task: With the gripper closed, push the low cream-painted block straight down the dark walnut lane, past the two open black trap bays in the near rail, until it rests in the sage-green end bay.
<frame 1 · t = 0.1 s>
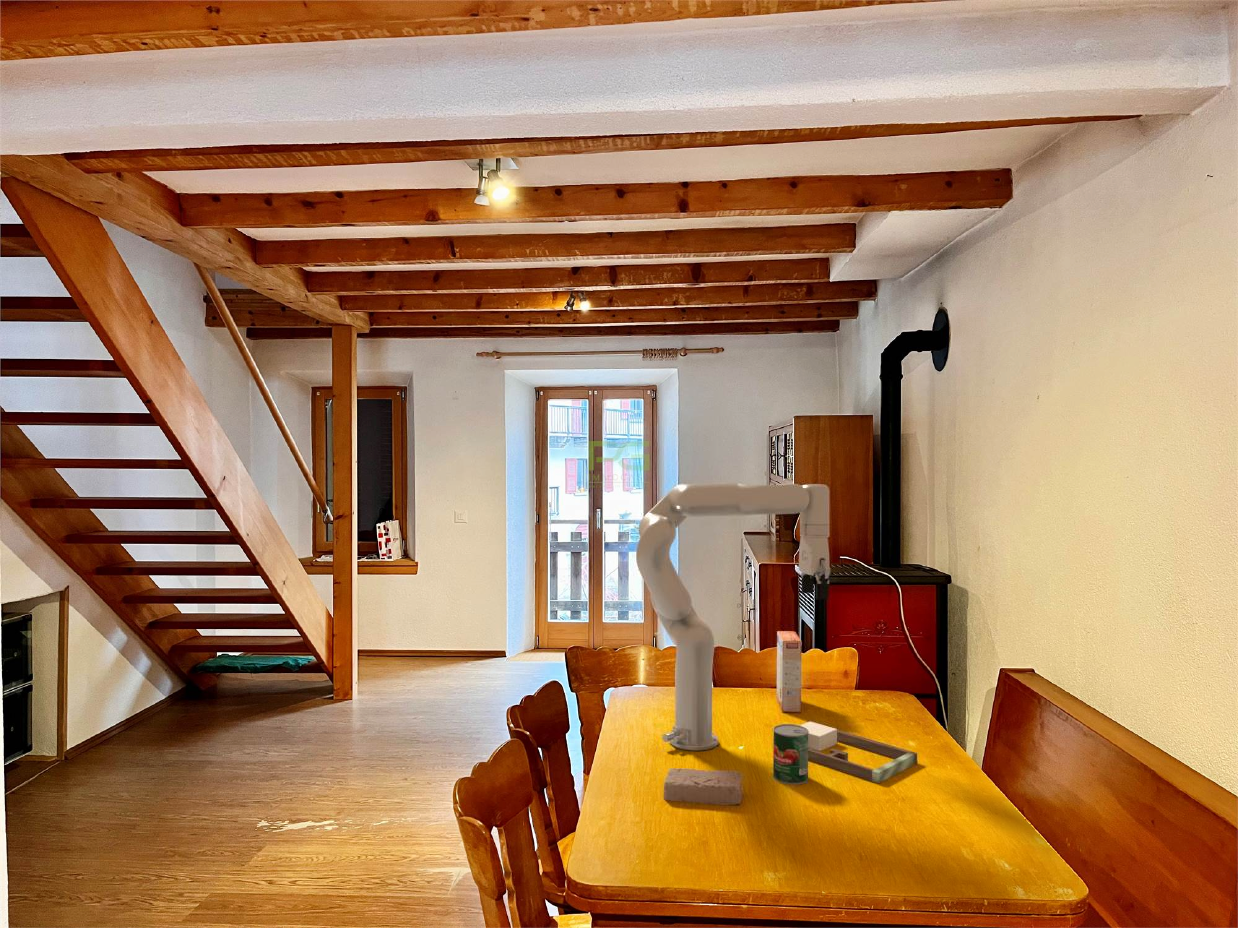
hand: (814, 595, 201), 37 cm above the table, tool pointing down, fingers open, 9 cm apart
cream block: (814, 744, 196), on the table
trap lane: (844, 755, 187), on the table
canned tomato: (790, 778, 174), on the table
brick: (703, 797, 165), on the table
cracker box: (788, 706, 227), on the table
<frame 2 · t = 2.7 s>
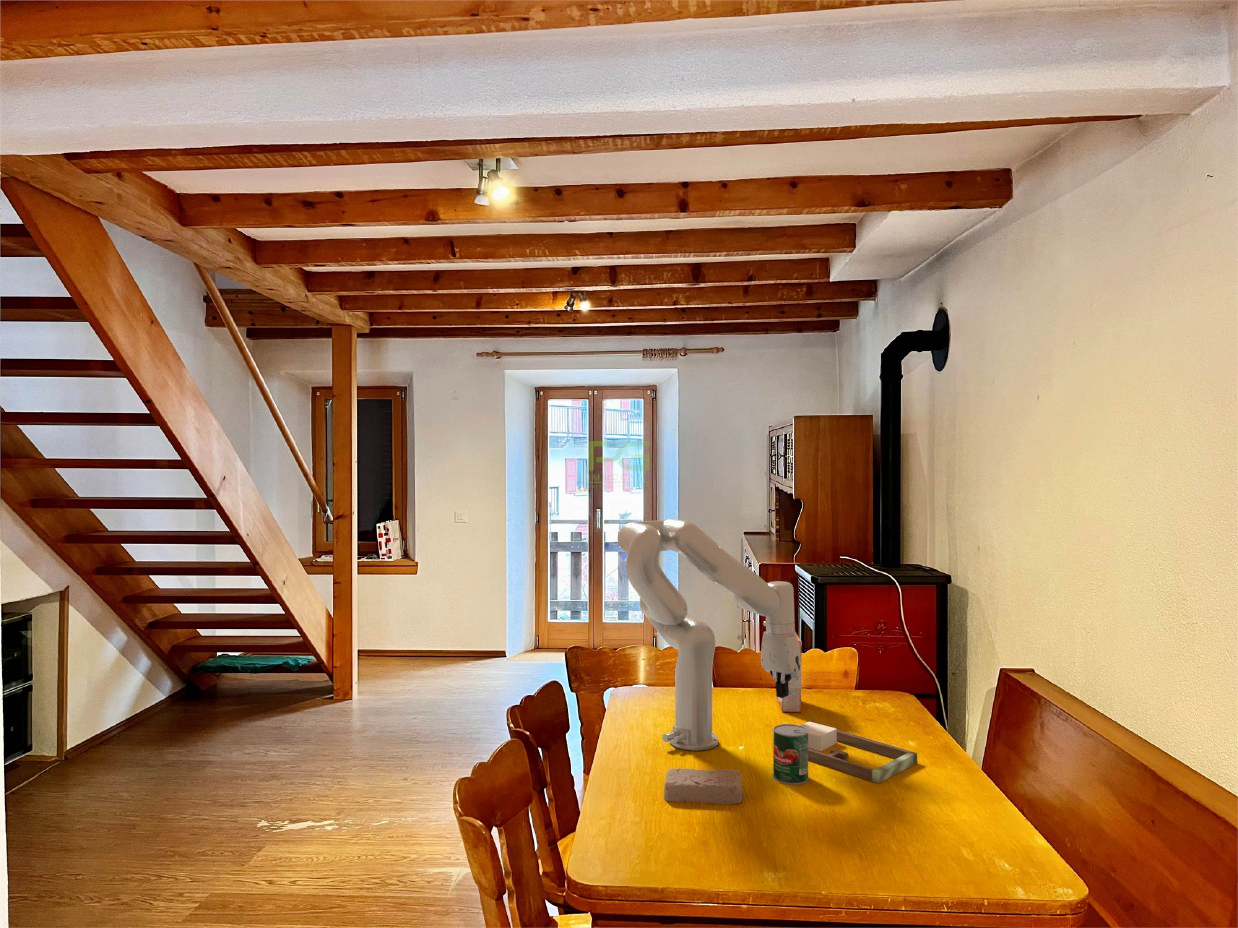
hand: (782, 696, 205), 9 cm above the table, tool pointing down, fingers closed
nothing on the table moved.
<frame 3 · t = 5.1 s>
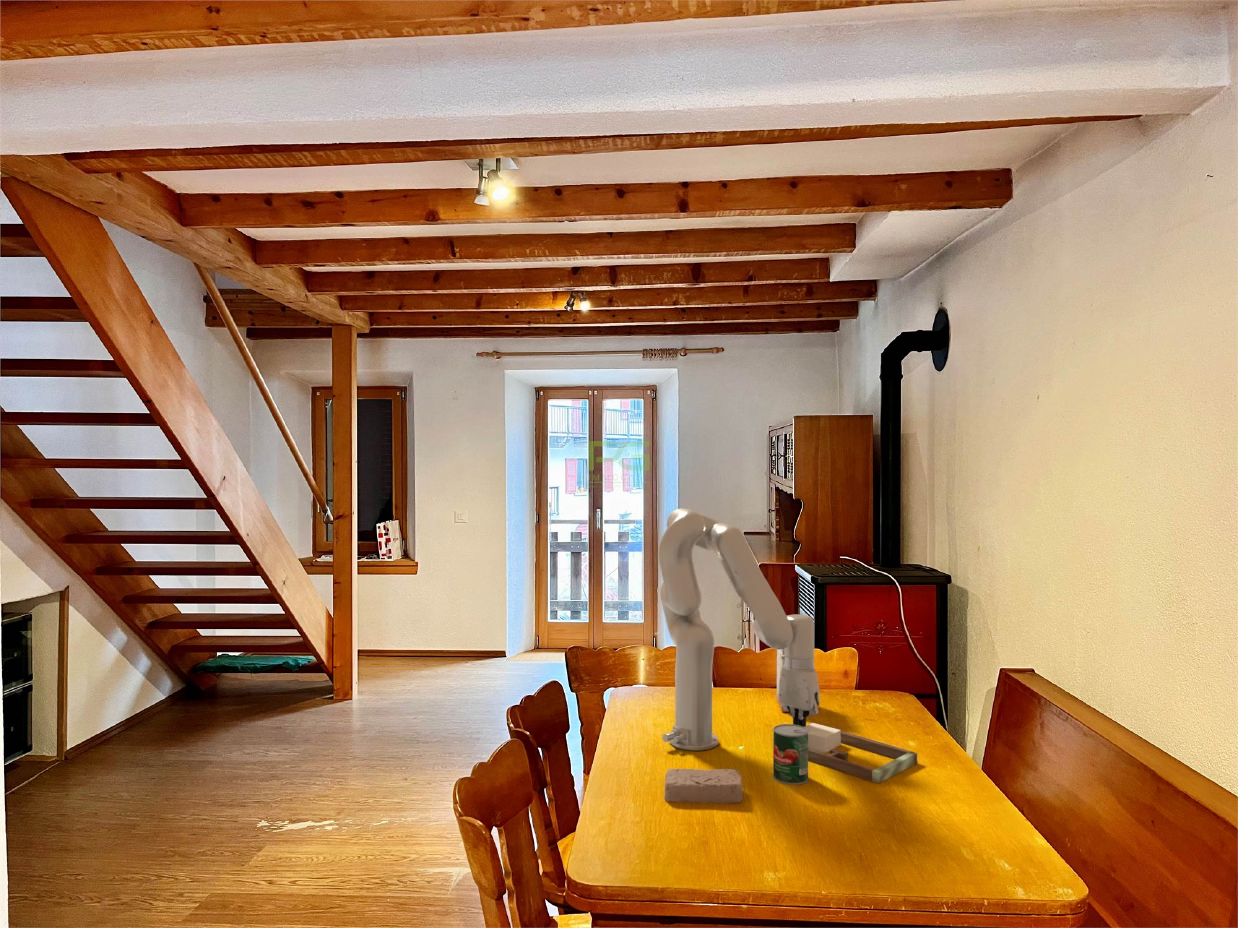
hand: (799, 732, 200), 1 cm above the table, tool pointing down, fingers closed
cream block: (818, 745, 195), on the table, touching gripper
everything else where it was.
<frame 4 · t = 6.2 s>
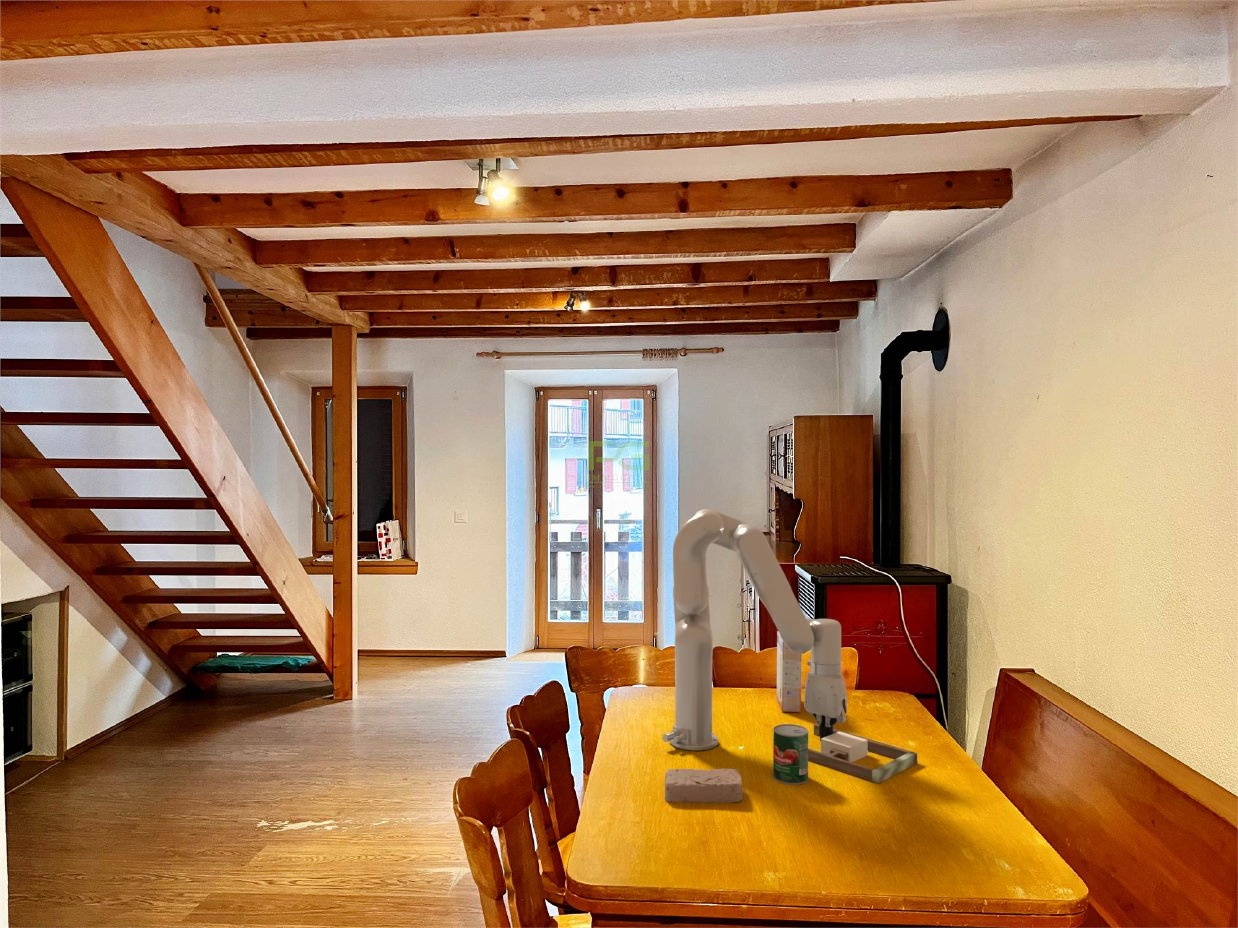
hand: (826, 740, 194), 1 cm above the table, tool pointing down, fingers closed
cream block: (844, 755, 188), on the table
everything else where it was.
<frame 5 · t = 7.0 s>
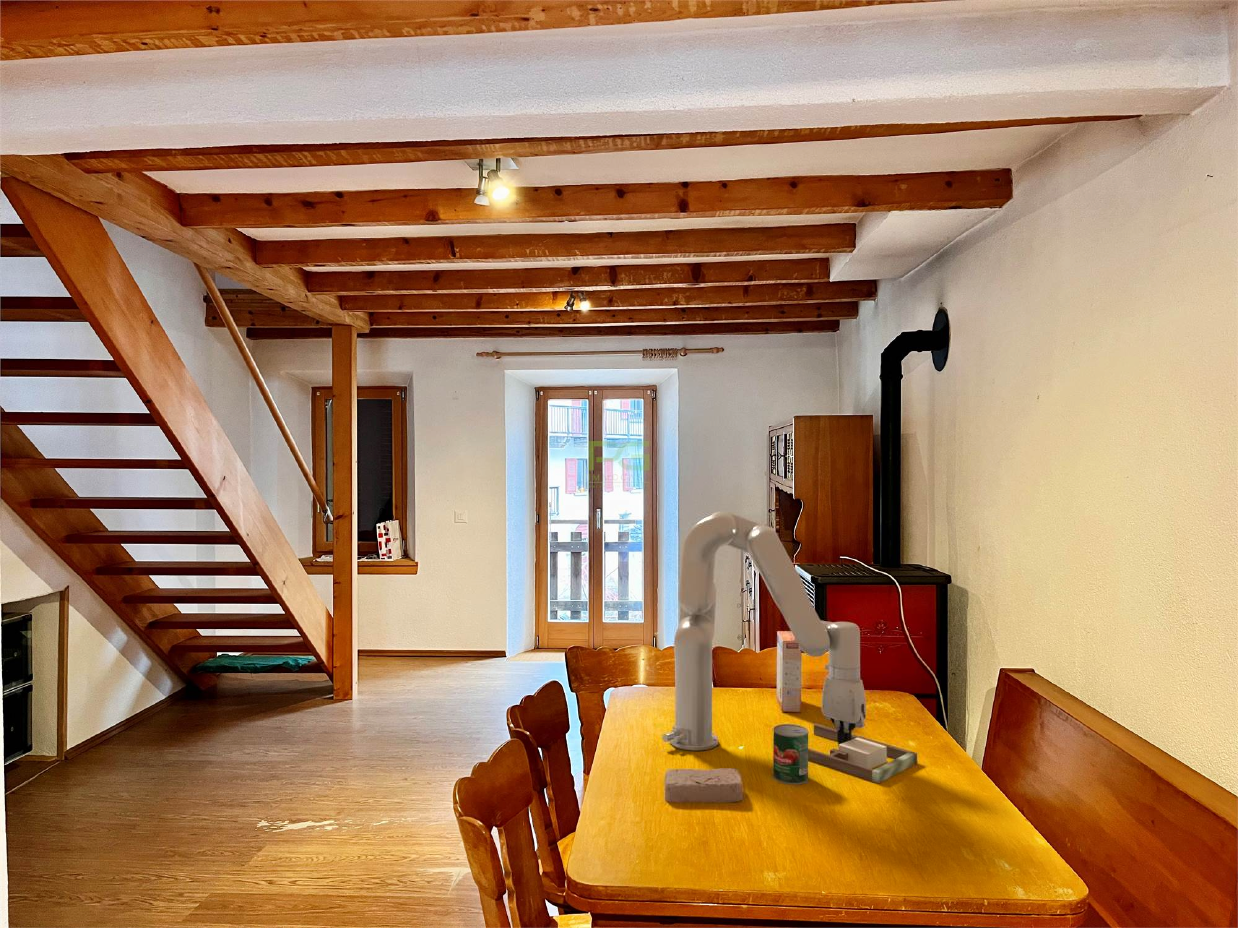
hand: (844, 746, 190), 1 cm above the table, tool pointing down, fingers closed
cream block: (862, 762, 184), on the table, touching gripper
everything else where it was.
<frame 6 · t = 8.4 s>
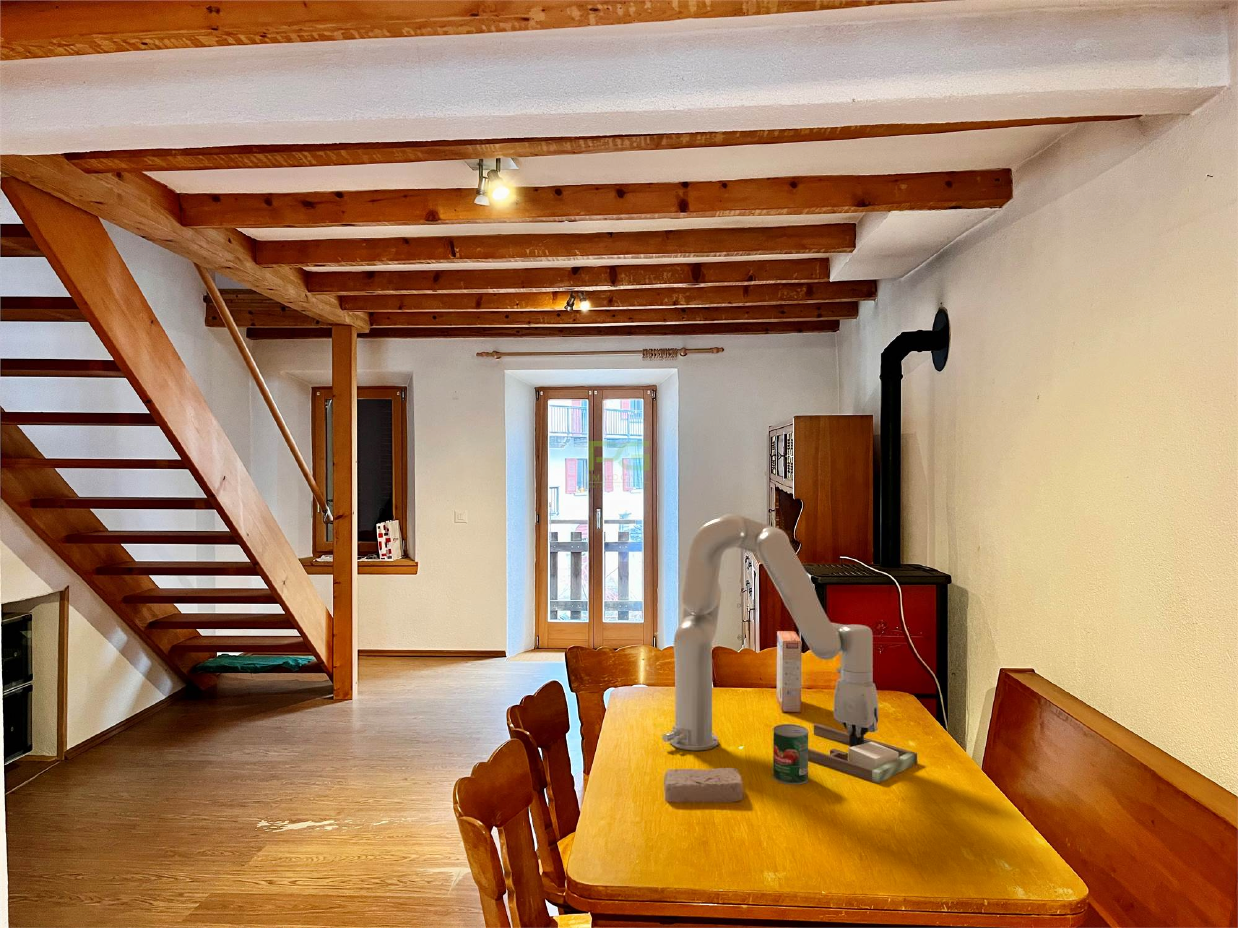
hand: (856, 750, 187), 1 cm above the table, tool pointing down, fingers closed
cream block: (873, 766, 181), on the table
everything else where it was.
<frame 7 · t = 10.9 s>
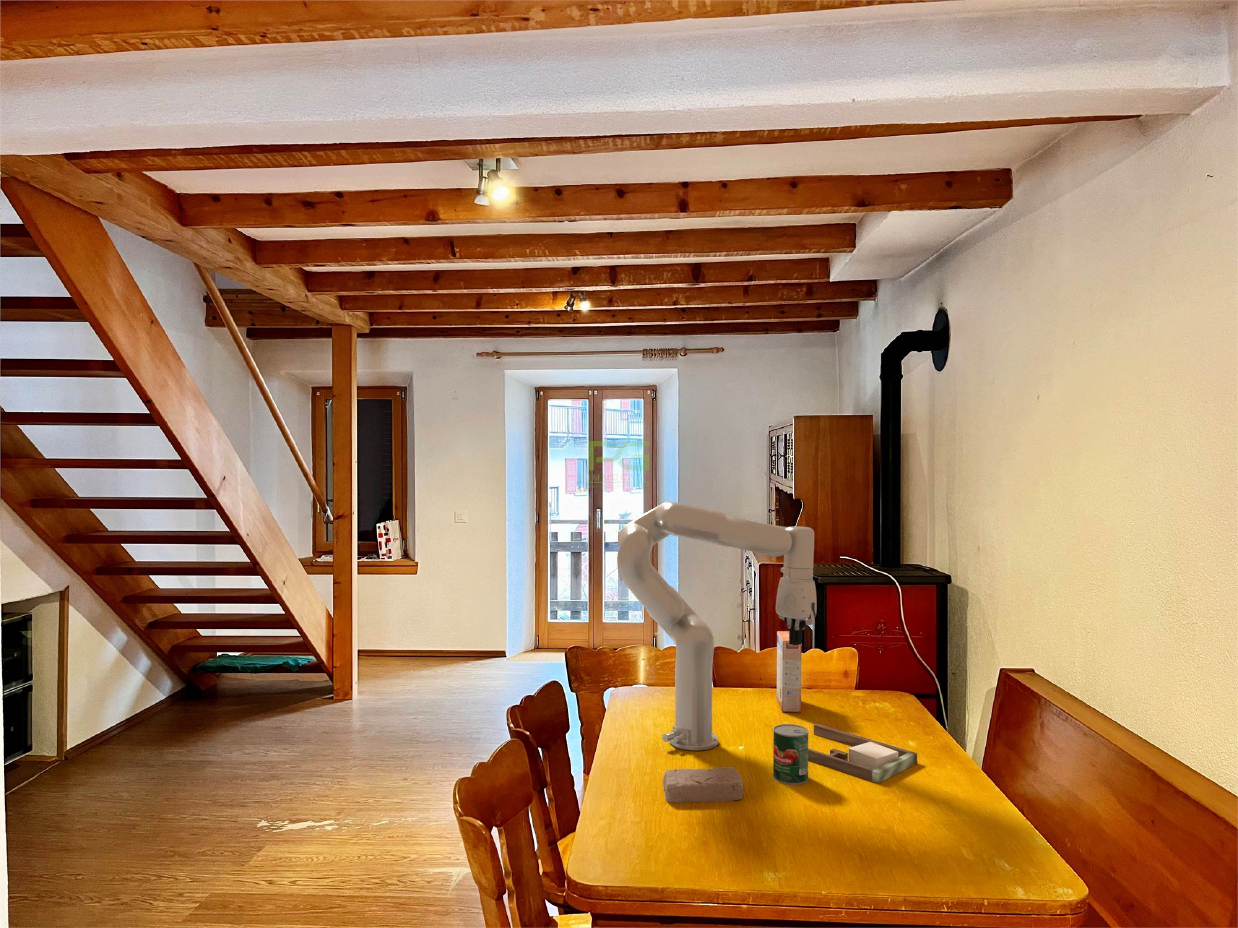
hand: (795, 644, 199), 25 cm above the table, tool pointing down, fingers closed
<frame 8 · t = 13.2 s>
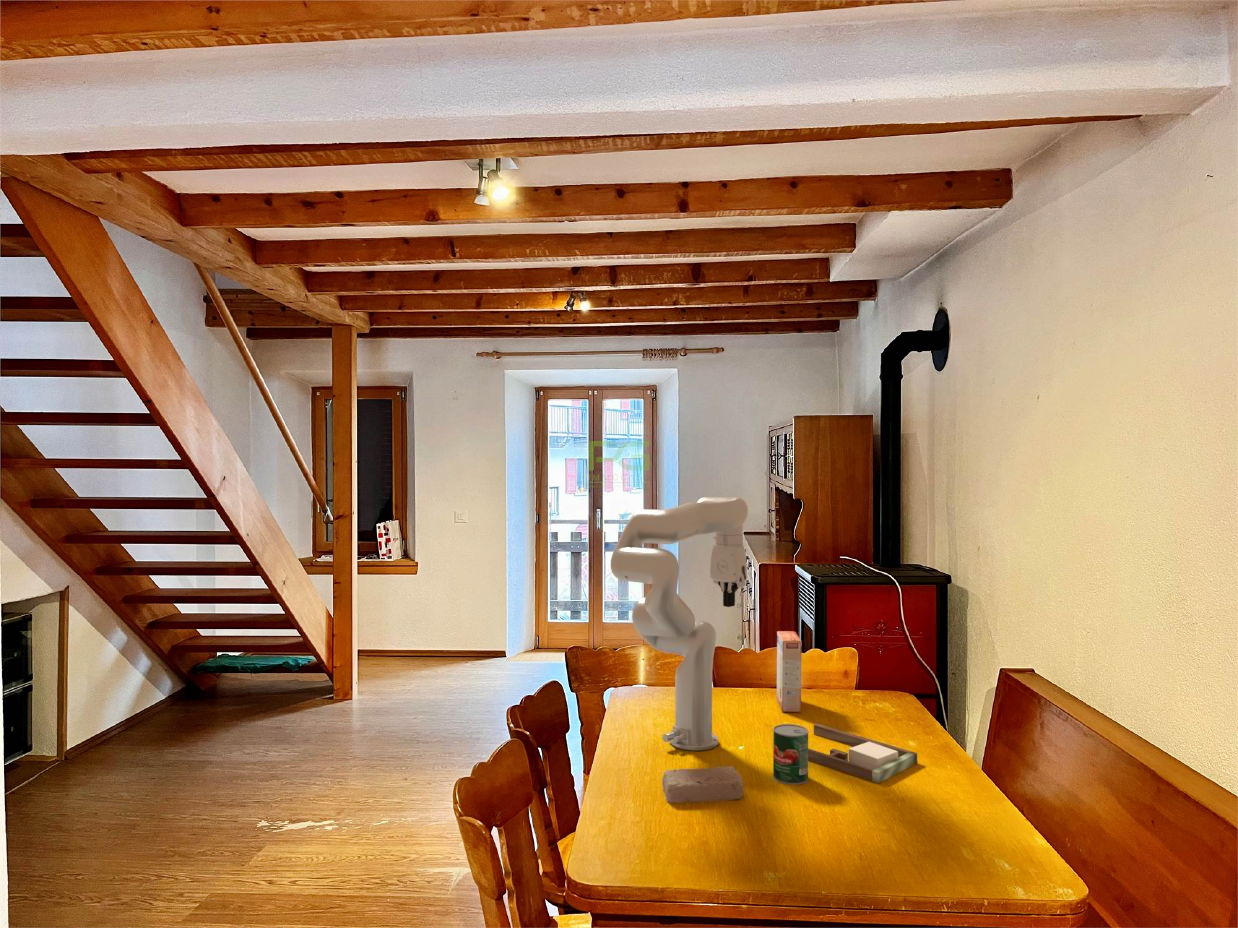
hand: (729, 605, 214), 32 cm above the table, tool pointing down, fingers closed
at the end: cream block inside the target area (2.3 cm from its centre), on the table; cream block tilted 0° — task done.
